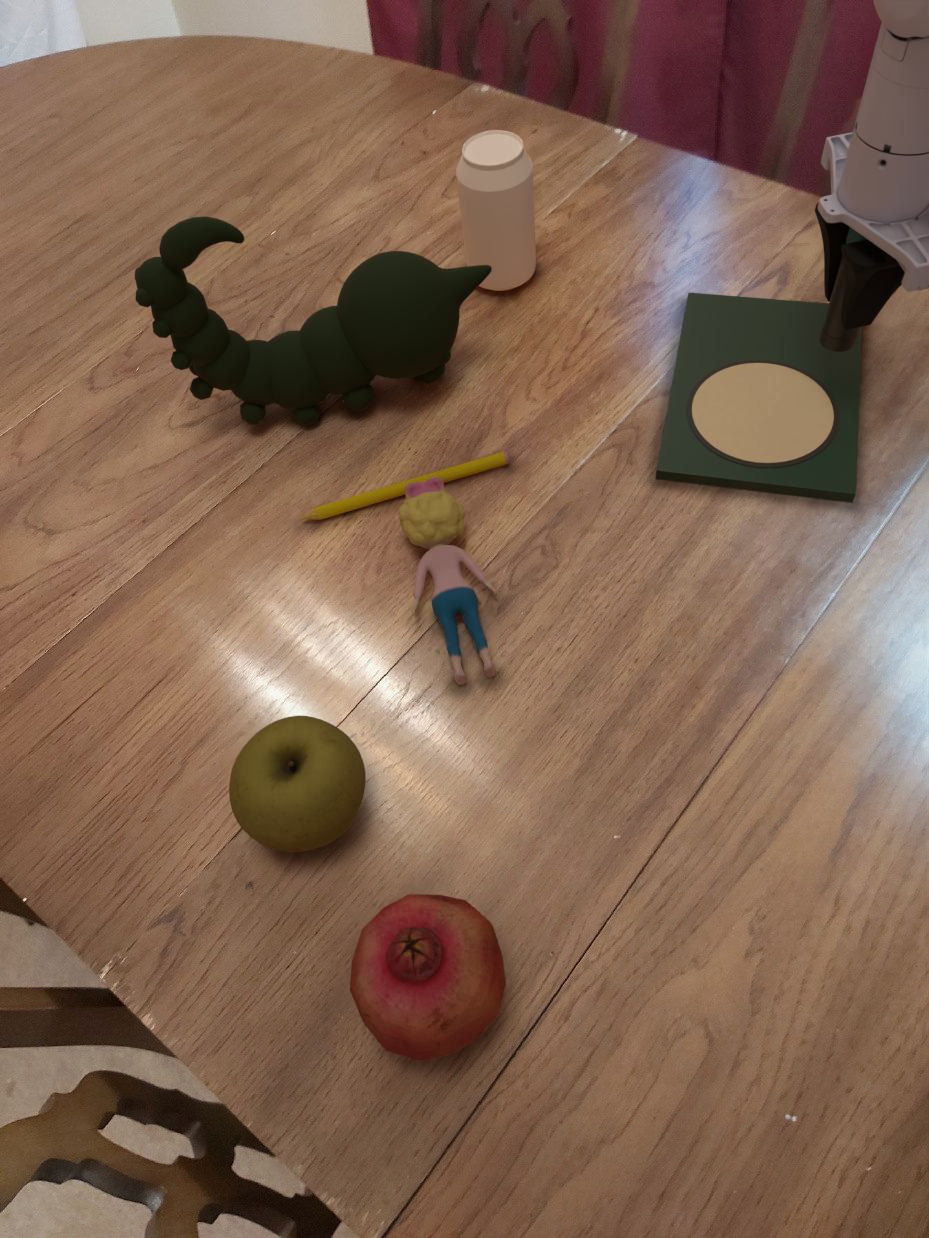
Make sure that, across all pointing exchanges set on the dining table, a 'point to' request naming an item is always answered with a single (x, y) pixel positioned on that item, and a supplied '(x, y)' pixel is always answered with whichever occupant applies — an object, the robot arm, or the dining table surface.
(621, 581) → the dining table surface
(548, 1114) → the dining table surface
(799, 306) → the kitchen scale
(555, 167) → the dining table surface
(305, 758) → the apple
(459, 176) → the beverage can
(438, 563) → the figurine
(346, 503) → the pencil
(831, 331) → the pill bottle
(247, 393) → the toy caterpillar
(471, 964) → the fruit
